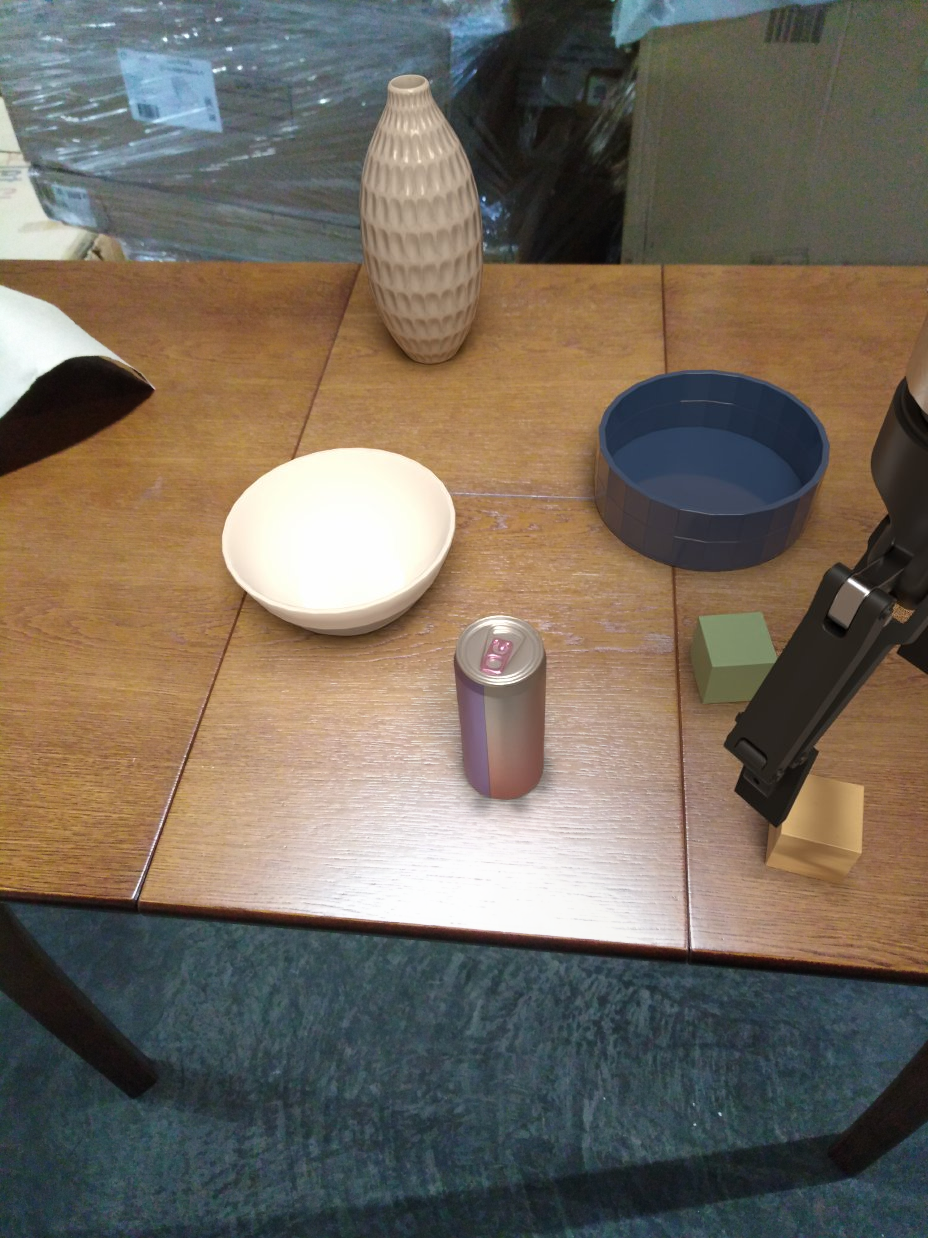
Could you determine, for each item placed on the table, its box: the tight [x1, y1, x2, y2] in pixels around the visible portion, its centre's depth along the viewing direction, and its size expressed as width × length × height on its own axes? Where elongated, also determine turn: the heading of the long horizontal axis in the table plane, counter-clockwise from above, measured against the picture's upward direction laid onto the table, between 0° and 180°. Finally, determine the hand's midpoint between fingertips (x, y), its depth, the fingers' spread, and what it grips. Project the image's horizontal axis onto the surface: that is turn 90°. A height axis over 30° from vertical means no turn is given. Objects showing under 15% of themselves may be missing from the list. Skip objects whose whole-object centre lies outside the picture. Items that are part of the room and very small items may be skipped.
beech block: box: [764, 773, 865, 885], centre depth 61 cm, size 5×5×5 cm
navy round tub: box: [593, 369, 831, 572], centre depth 83 cm, size 20×20×7 cm
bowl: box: [221, 447, 457, 637], centre depth 77 cm, size 19×20×8 cm
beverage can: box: [453, 614, 548, 800], centre depth 62 cm, size 6×6×15 cm
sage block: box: [689, 611, 778, 705], centre depth 70 cm, size 5×5×5 cm
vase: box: [358, 74, 485, 365], centre depth 93 cm, size 13×13×28 cm
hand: (844, 731), depth 48 cm, fingers open, 13 cm apart
